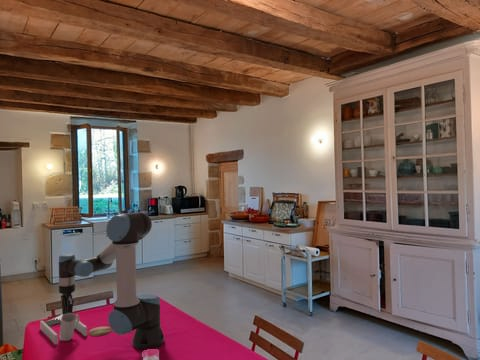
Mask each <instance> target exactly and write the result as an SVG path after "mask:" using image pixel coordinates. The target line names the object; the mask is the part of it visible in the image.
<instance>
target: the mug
mask: <svg viewBox="0 0 480 360" xmlns="http://www.w3.org/2000/svg"><path fill="white" fill-rule="evenodd" d="M76 319H77V322H76ZM60 320H61V324H60V326H59V335H58V338H59V339H60V341H63V342H64V341H65V342H67V341H70V340H71V339H72V338H73V337H74V332H75V330H76V329H75V328H76V327H77V325H78V322H79V321H80V315H79V313H77V314H75V313H74V312H72V313H66V314H64V315H63V314H62V316H61V319H60ZM75 322H76V324H75Z"/></svg>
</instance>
